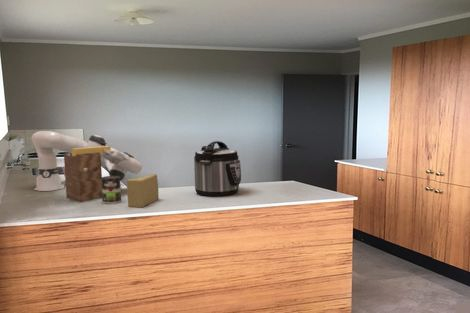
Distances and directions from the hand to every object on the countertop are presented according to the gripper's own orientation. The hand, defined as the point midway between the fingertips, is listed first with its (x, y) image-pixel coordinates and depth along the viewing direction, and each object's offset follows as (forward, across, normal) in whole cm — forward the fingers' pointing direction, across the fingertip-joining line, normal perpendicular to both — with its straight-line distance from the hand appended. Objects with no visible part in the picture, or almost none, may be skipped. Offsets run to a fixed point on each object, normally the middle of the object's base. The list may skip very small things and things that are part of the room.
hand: (101, 149), depth 263 cm
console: (-5, +3, -30) cm, 30 cm away
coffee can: (-10, -18, -27) cm, 35 cm away
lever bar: (+4, 0, -5) cm, 7 cm away
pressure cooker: (-59, -46, +1) cm, 75 cm away
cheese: (-20, -37, -22) cm, 47 cm away
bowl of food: (-28, +68, -17) cm, 75 cm away
